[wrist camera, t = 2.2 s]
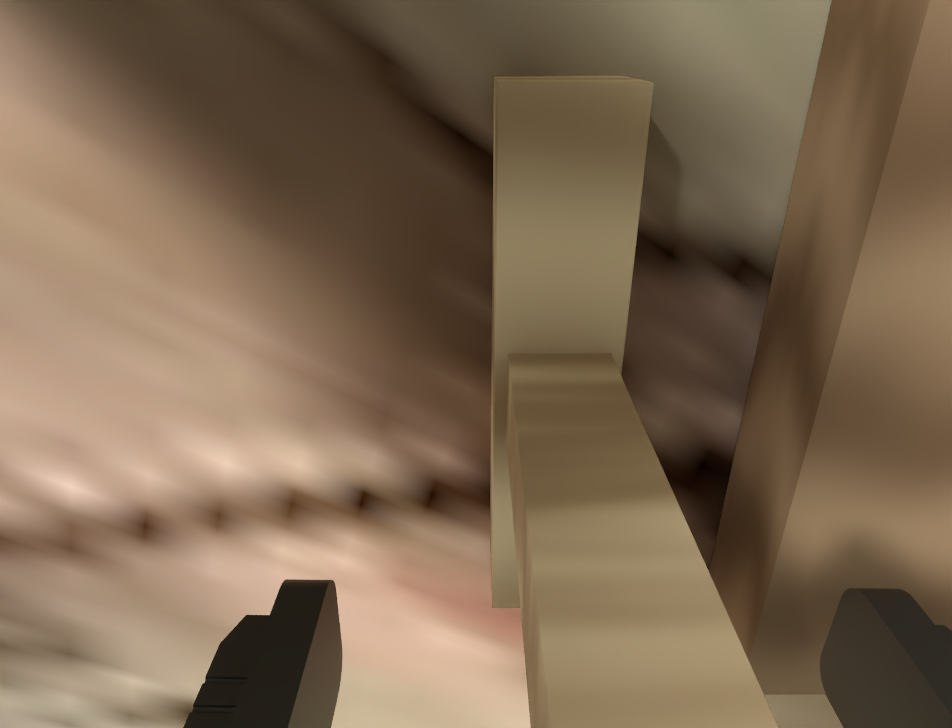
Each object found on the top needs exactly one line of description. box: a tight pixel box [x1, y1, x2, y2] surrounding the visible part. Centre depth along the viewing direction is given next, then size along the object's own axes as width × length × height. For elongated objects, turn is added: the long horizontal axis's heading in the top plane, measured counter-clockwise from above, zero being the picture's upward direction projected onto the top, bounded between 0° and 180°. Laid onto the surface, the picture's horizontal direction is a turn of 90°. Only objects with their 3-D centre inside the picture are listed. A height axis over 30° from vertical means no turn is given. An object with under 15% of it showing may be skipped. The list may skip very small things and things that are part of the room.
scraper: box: [490, 76, 779, 728], centre depth 12 cm, size 14×3×14 cm, turn 0°
